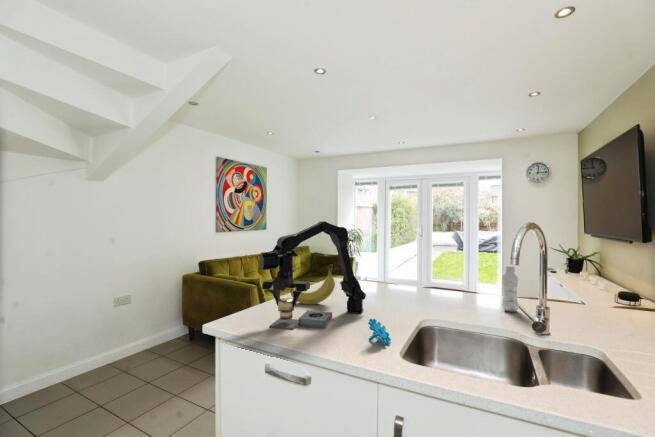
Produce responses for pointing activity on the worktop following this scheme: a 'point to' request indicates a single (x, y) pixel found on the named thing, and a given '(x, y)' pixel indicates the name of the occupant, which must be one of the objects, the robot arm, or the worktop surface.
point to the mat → (285, 324)
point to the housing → (315, 319)
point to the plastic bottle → (510, 290)
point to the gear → (379, 331)
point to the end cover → (285, 308)
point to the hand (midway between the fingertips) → (286, 306)
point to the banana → (318, 291)
